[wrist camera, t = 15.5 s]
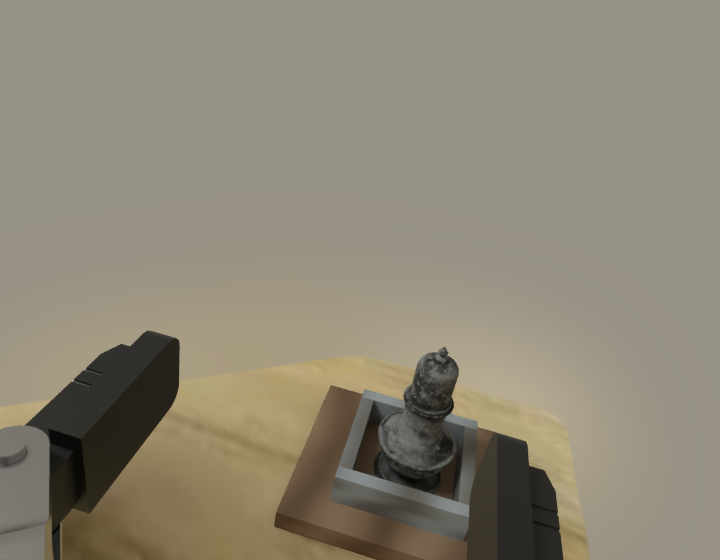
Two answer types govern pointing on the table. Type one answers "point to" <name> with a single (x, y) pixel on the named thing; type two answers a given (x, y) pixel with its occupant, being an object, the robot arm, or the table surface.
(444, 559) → the socket stand
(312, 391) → the table surface
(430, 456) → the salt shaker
